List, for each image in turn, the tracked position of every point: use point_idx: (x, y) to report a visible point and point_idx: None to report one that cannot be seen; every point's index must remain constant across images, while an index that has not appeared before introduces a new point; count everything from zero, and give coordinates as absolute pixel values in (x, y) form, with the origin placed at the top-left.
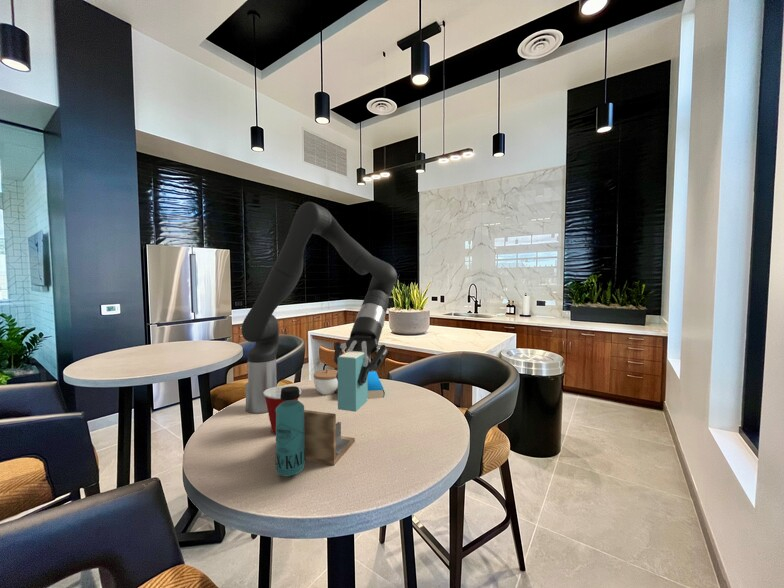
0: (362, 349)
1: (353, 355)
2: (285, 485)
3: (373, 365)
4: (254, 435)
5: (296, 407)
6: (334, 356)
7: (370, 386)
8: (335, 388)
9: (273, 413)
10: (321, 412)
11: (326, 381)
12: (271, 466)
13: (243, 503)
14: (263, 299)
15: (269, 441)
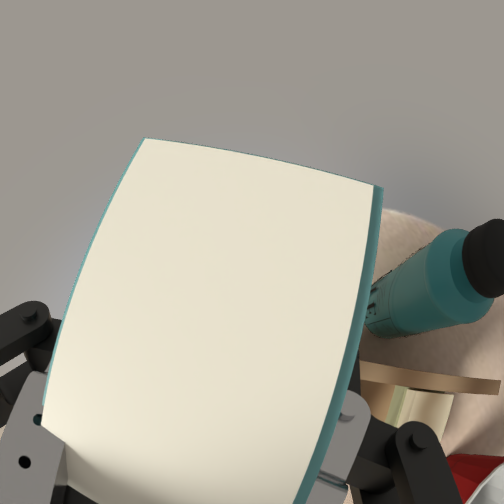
0: (48, 483)
1: (161, 237)
2: (377, 277)
3: (40, 309)
4: (489, 435)
5: (443, 247)
6: (450, 474)
7: None
8: None
9: (489, 456)
10: (374, 378)
11: None
12: (427, 335)
13: (417, 229)
14: None
15: (461, 424)
